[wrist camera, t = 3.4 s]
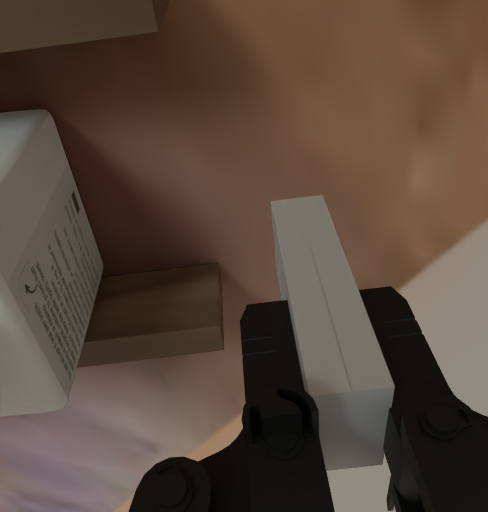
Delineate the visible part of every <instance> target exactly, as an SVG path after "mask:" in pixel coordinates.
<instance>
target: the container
mask: <svg viewBox="0 0 488 512" xmlns="http://www.w3.org/2000/svg"><path fill="white" fill-rule="evenodd" d="M102 273H103V262H102V259H101V256H100V253H99V250H98V248H97V245H96V242H95V239H94V236H93V233H92V230H91V227H90V224H89V221H88V218H87V216H86V213H85V210H84V207H83V204H82V201H81V198H80V195H79V192H78V189H77V186H76V183H75V181H74V178H73V175H72V172H71V169H70V166H69V163H68V160H67V157H66V154H65V151H64V149H63V146H62V143H61V140H60V137H59V134H58V131H57V128H56V125H55V122H54V119H53V117H52V115H51V114H50V113H49V112H48V111H46V110H44V109H34V110H23V111H12V112H2V113H0V417H2V416H12V415H23V414H33V413H43V412H54V411H58V410H60V409H62V408H63V407H64V406H65V405H66V403H67V401H68V398H69V394H70V390H71V387H72V383H73V379H74V376H75V372H76V368H77V365H78V361H79V357H80V354H81V350H82V346H83V343H84V339H85V335H86V332H87V328H88V324H89V320H90V317H91V313H92V309H93V306H94V302H95V298H96V295H97V291H98V287H99V284H100V280H101V276H102Z"/></svg>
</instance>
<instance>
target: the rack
mask: <svg viewBox="0 0 488 512" xmlns="http://www.w3.org/2000/svg"><path fill="white" fill-rule="evenodd" d="M167 5H168V0H0V53H4V52H12V51H19V50H27V49H34V48H42V47H49V46H57V45H64V44H72V43H79V42H87V41H94V40H102V39H109V38H117V37H124V36H132V35H139V34H147V33H155V32H158V31H159V28H160V25H161V22H162V19H163V16H164V13H165V10H166V7H167ZM218 350H224V333H223V307H222V285H221V280H220V274H219V269H218V264H217V263H213V264H205V265H197V266H189V267H181V268H173V269H165V270H157V271H149V272H141V273H132V274H124V275H116V276H108V277H101V280H100V284H99V287H98V291H97V295H96V298H95V302H94V306H93V309H92V313H91V317H90V320H89V324H88V328H87V332H86V335H85V339H84V343H83V346H82V350H81V354H80V357H79V361H78V365H77V368H78V367H86V366H94V365H102V364H111V363H119V362H127V361H135V360H144V359H152V358H160V357H169V356H177V355H185V354H193V353H202V352H210V351H218Z"/></svg>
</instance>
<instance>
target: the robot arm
mask: <svg viewBox="0 0 488 512" xmlns="http://www.w3.org/2000/svg"><path fill="white" fill-rule="evenodd" d="M271 211H272V223H273V235H274V247H275V259H276V271H277V278H278V283H279V289H280V295H281V300H282V301H274V302H265V303H257V304H248V305H247V306H246V309H245V311H244V313H243V315H242V318H241V320H240V329H241V341H242V342H241V343H242V355H243V371H244V385H245V400H246V404H245V405H244V408H243V414H242V424H243V429H242V431H241V432H240V434H239V436H238V437H237V438H236V439H235V440H234V441H233V442H232V443H231V444H230V445H229V446H228V447H226V448H224V449H223V450H221V451H219V452H217V453H215V454H213V455H211V456H209V457H206V458H204V459H202V460H200V461H198V462H197V461H195V460H192V459H189V458H186V457H172V458H168V459H166V460H163V461H161V462H159V463H157V464H155V465H154V466H153V467H152V468H151V469H150V470H149V471H148V472H147V473H146V474H145V475H144V476H143V478H142V480H141V482H140V484H139V485H138V487H137V489H136V492H135V495H134V498H133V501H132V504H131V506H130V509H129V512H334V507H333V502H332V497H331V492H330V487H329V482H328V477H327V472H326V471H327V470H337V469H346V468H355V467H363V466H373V465H381V464H383V458H384V453H385V456H386V459H387V463H388V465H389V469H390V472H391V478H390V484H389V489H388V494H387V508H388V511H391V510H393V508H394V506H395V509H396V512H488V417H487V416H484V415H481V414H479V413H477V412H475V411H473V410H471V409H470V407H469V406H467V405H466V404H464V403H463V402H462V401H460V400H459V399H458V398H457V397H456V396H455V395H454V394H453V392H452V391H451V389H450V388H449V386H448V384H447V382H446V380H445V378H444V376H443V374H442V372H441V370H440V368H439V366H438V364H437V362H436V360H435V357H434V356H433V354H432V351H431V349H430V347H429V345H428V343H427V341H426V339H425V337H424V335H422V331H421V329H420V327H419V325H418V323H417V321H416V320H415V316H414V315H413V312H412V310H411V308H410V306H409V304H408V302H407V300H406V299H405V298H404V297H402V296H401V295H400V294H399V293H398V292H397V291H396V290H394V289H393V288H392V287H391V286H389V287H381V288H373V289H364V290H358V288H357V285H356V282H355V280H354V277H353V274H352V272H351V269H350V267H349V264H348V261H347V259H346V256H345V253H344V251H343V248H342V245H341V243H340V240H339V237H338V235H337V232H336V229H335V227H334V224H333V221H332V219H331V216H330V213H329V211H328V208H327V206H326V203H325V200H324V198H323V195H316V196H308V197H300V198H292V199H284V200H276V201H271Z"/></svg>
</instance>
